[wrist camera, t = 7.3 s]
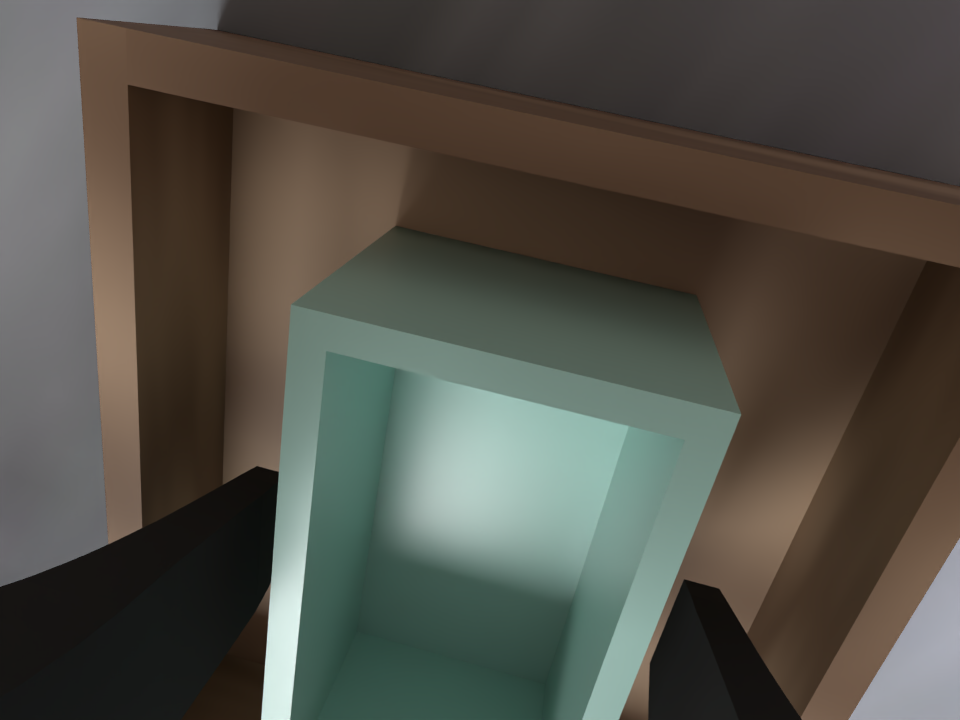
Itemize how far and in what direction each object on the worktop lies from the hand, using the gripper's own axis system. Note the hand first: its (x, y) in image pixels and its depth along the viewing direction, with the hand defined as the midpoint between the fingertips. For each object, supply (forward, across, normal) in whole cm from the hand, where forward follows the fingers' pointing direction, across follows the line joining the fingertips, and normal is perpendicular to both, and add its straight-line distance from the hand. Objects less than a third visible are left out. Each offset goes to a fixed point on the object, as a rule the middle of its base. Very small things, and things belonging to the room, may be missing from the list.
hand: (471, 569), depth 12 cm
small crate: (+2, 0, 0) cm, 2 cm away
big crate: (+3, 0, 0) cm, 3 cm away
